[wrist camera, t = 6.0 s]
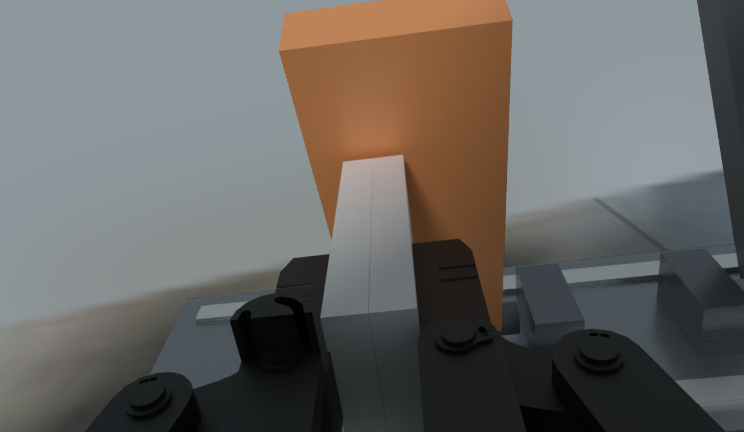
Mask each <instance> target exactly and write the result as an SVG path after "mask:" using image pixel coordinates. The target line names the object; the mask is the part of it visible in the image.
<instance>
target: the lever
mask: <svg viewBox="0 0 744 432" xmlns="http://www.w3.org/2000/svg"><path fill="white" fill-rule="evenodd" d="M511 42H512V17H511V15H510V12H509V9H508V6H507V3H506V0H382V1H375V2H366V3H359V4H352V5H345V6H338V7H330V8H323V9H315V10H308V11H301V12H294V13H286V14H284V21H283V28H282V35H281V41H280V48H279V53H280V56H281V59H282V63H283V67H284V71H285V74H286V78H287V81H288V85H289V88H290V92H291V96H292V99H293V103H294V106H295V110H296V114H297V117H298V121H299V124H300V128H301V131H302V135H303V138H304V142H305V146H306V150H307V153H308V157H309V160H310V164H311V168H312V171H313V175H314V178H315V182H316V185H317V189H318V192H319V196H320V199H321V203H322V207H323V211H324V214H325V218H326V221H327V225H328V229H329V232H330V236H331V239H332V235H333V228H334V221H335V214H336V208H337V201H338V194H339V187H340V180H341V173H342V167H343V162H346V161H354V160H363V159H371V158H380V157H388V156H397V155H403V158H404V167H405V176H406V184H407V193H408V201H409V210H410V218H411V227H412V235H413V243H422V242H432V241H441V240H450V239H460V240H461V241H462V242H463V243H465V244H466V245H467V246H468V247H469V248H470V249H472V252H473V256H474V259H475V263H476V267H477V271H478V275H479V279H480V282H481V286H482V290H483V294H484V297H485V301H486V305H487V309H488V313H489V316H490V320H491V323H492V325H493V326H495V328H496V329H497V331H498V333H499V334H500V335H501V336H503V335H514V334H520V320H519V313H518V308H517V304H516V301H508V302H503V274H504V246H505V217H506V189H507V160H508V159H507V158H508V132H509V103H510V74H511V72H510V71H511V46H512V43H511Z"/></svg>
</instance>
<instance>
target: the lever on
mask: <svg viewBox="0 0 744 432" xmlns="http://www.w3.org/2000/svg"><path fill="white" fill-rule="evenodd" d="M697 3H698V9H699V16H700V22H701V28H702V35H703V42H704V48H705V55H706V61H707V67H708V73H709V80H710V87H711V93H712V99H713V106H714V112H715V119H716V125H717V132H718V138H719V145H720V151H721V158H722V164H723V171H724V177H725V183H726V190H727V196H728V203H729V209H730V216H731V222H732V228H733V235H734V241H735V248H736V254H737V261H738V267H739V274H740V279H738V280H734V281H735V282H736V283H737V284H738V285H739V286H740V288H741V289H742V290H743V291H744V0H697Z"/></svg>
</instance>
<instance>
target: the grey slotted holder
mask: <svg viewBox="0 0 744 432" xmlns="http://www.w3.org/2000/svg"><path fill="white" fill-rule="evenodd" d="M738 279H740V274H739V267H738V261H737V254H736V248H735V244H731V245H721V246H711V247H701V248H691V249H681V250H671V251H661V252H651V253H641V254H631V255H621V256H611V257H601V258H591V259H581V260H571V261H561V262H551V263H541V264H531V265H521V266H511V267H504V274H503V302H508V301H516V304H517V308H518V313H519V320H520V334H514V335H503V336H502V337H504V338H505V339H507V340H508V341H510V342H512V343H515V344H518V345H520V346H524V347H529V348H534V349H541V350H549V351H553V347H554V345H555V344H556V343H557V341H558V340H559V339H560V338H561V337H562V336H564V335H567V334H569V333H571V332H574V331H577V330H585V329H600V330H609V331H612V332H615V333H618V334H621V335H624V336H626V337H628V338H629V339H631V340H632V341H633V342H635V343H636V344H638V345H639V346H640V347H641V348H642V349H643V350H644V351H645V352H646V353H647V354H648V355H649V356H650V357H651V358H652V359H653V360H654V361H655V362H656V363H657V364H658V365H659V366H660V367H661V368H662V369H663V370H664V371H665V372H666V373H667V374H668V375H669V376H670V377H671V378H672V379H673V380H674V381H675V382H676V383H677V384H678V385H679V386H680V387H681V388H682V389H683V390H684V391H685V392H687V393H688V394H689V395H690V396H691V397H692V398H693V399H694V400H695V401H696V402H697V403H698V404H699V405H700V406H701V407H702V408H703V409H704V410H705V411H706V412H707V413H708V414H709V415H710V416H711V417H712V418H713V419H714V420H715V421H716V422H717V423H718V424H719V425H720V426H721V427H722V428H723V429H724V430H725V431H726V432H744V291H743V290H742V289H741V288H740V286H739V285H738V284H737V283H736V282H735V281H734V280H738ZM272 293H275V290H271V291H261V292H251V293H241V294H231V295H221V296H211V297H201V298H191V299H187V301H186V303H185V305H184V307H183V309H182V311H181V313H180V315H179V317H178V319H177V321H176V323H175V325H174V327H173V329H172V331H171V333H170V335H169V337H168V339H167V340H166V342H165V344H164V346H163V348H162V350H161V352H160V354H159V356H158V358H157V360H156V362H155V364H154V366H153V368H152V370H151V372H150V374H149V375H152V374H155V373H163V372H174V373H178V374H182V375H184V376H185V377H186V378H187V379H188V380H189V381H190V382H191V384H192V387H193V389H194V388H197V387H201V386H204V385H207V384H210V383H213V382H216V381H219V380H221V379H224V378H226V377H229V376H231V375H233V374H235V373H236V372H238V371H239V367H240V364H241V359H240V355H239V352H238V349H237V345H236V342H235V338H234V335H233V331H232V328H231V324H230V321H229V320H230V319H231V317H232V316H233V314H234V313H235V311H236V310H238V309H239V308H240V307H241V306H243V305H244V304H245V303H247V302H249V301H251V300H253V299H255V298H258V297H260V296H263V295H268V294H272ZM342 432H344V429H343V427H342Z"/></svg>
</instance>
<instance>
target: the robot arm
mask: <svg viewBox="0 0 744 432" xmlns="http://www.w3.org/2000/svg"><path fill="white" fill-rule="evenodd" d="M229 321H230V324H231V328H232V331H233V335H234V338H235V342H236V345H237V349H238V352H239V355H240V359H241V364H240V367H239V371H238V372H236V373H235V374H233V375H231V376H229V377H226V378H224V379H221V380H219V381H216V382H213V383H210V384H207V385H204V386H201V387H197V388H194V389H193V387H192V384H191V382H190V381H189V380H188V379H187V378H186V377H185V376H184V375H182V374H178V373H174V372H163V373H155V374H152V375H149V376H145V377H142V378H140V379H138V380H136V381H134V382H133V383H131V384H129V385H127V386H126V387H124V388H123V389H122V390H121V391H120V392H119V393H118V394H117V395H116V396H115V397H113V399H112V400H111V401H110V402H109V403H108V405H107V406H106V407H105V408H104V409H103V411H102V412H101V413H100V414H99V415H98V417H97V418H96V419H95V420H94V421H93V422H92V424H91V425H90V426H89V427H88V428H87V430H86V431H85V432H342V427H343V429H344V432H726V431H725V430H724V429H723V428H722V427H721V426H720V425H719V424H718V423H717V422H716V421H715V420H714V419H713V418H712V417H711V416H710V415H709V414H708V413H707V412H706V411H705V410H704V409H703V408H702V407H701V406H700V405H699V404H698V403H697V402H696V401H695V400H694V399H693V398H692V397H691V396H690V395H689V394H688V393H687V392H685V391H684V390H683V389H682V388H681V387H680V386H679V385H678V384H677V383H676V382H675V381H674V380H673V379H672V378H671V377H670V376H669V375H668V374H667V373H666V372H665V371H664V370H663V369H662V368H661V367H660V366H659V365H658V364H657V363H656V362H655V361H654V360H653V359H652V358H651V357H650V356H649V355H648V354H647V353H646V352H645V351H644V350H643V349H642V348H641V347H640V346H639V345H638V344H636V343H635V342H633V341H632V340H631V339H629V338H628V337H626V336H624V335H621V334H618V333H615V332H612V331H609V330H600V329H585V330H577V331H574V332H571V333H569V334H567V335H564V336H562V337H561V338H560V339H559V340H558V341H557V343H556V344H555V345H554V347H553V351H549V350H541V349H534V348H529V347H524V346H520V345H518V344H515V343H512V342H510V341H508V340H507V339H505V338H504V337H502V336H501V335H500V334H499V333H498V331H497V329H496V328H495V326H493V325H492V323H491V320H490V316H489V313H488V309H487V305H486V301H485V297H484V294H483V290H482V286H481V282H480V279H479V275H478V271H477V267H476V263H475V259H474V256H473V252H472V249H470V248H469V247H468V246H467V245H466V244H465V243H463V242H462V241H461V240H460V239H450V240H441V241H432V242H422V243H413V235H412V227H411V218H410V210H409V201H408V193H407V184H406V176H405V167H404V158H403V155H397V156H388V157H380V158H371V159H363V160H354V161H346V162H343V167H342V173H341V180H340V187H339V194H338V201H337V208H336V214H335V221H334V228H333V235H332V242H331V249H330V254H328V255H318V256H309V257H300V258H293V259H292V260H291V261H290V262H289V264H288V265H287V266H286V267H285V268H284V269H283V270H282V271H281V272H280V276H279V279H278V283H277V290H275V293H272V294H268V295H263V296H260V297H258V298H255V299H253V300H251V301H249V302H247V303H245V304H244V305H243V306H241V307H240V308H239V309H238V310H236V311H235V313H234V314H233V316H232V317H231V319H230V320H229Z"/></svg>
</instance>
